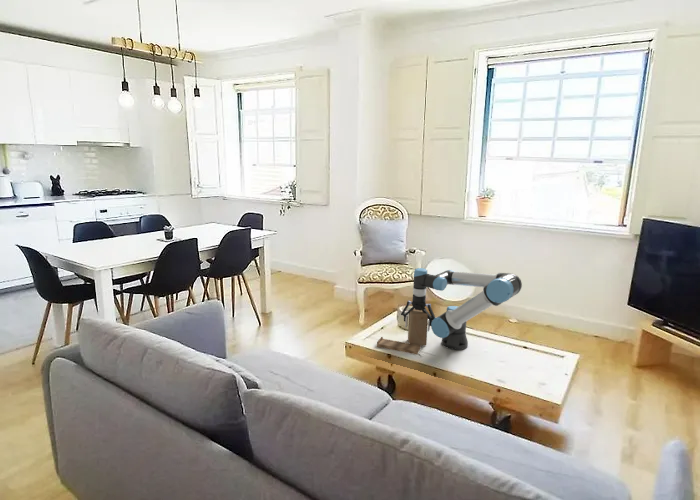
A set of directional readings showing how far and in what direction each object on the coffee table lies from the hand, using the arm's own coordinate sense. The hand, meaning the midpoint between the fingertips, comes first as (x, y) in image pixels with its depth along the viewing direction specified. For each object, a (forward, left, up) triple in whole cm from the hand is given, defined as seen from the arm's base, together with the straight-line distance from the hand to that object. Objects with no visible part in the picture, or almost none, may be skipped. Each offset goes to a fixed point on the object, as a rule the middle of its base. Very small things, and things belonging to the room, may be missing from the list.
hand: (417, 328), depth 262 cm
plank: (+8, +11, -9) cm, 16 cm away
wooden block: (0, 0, -9) cm, 9 cm away
